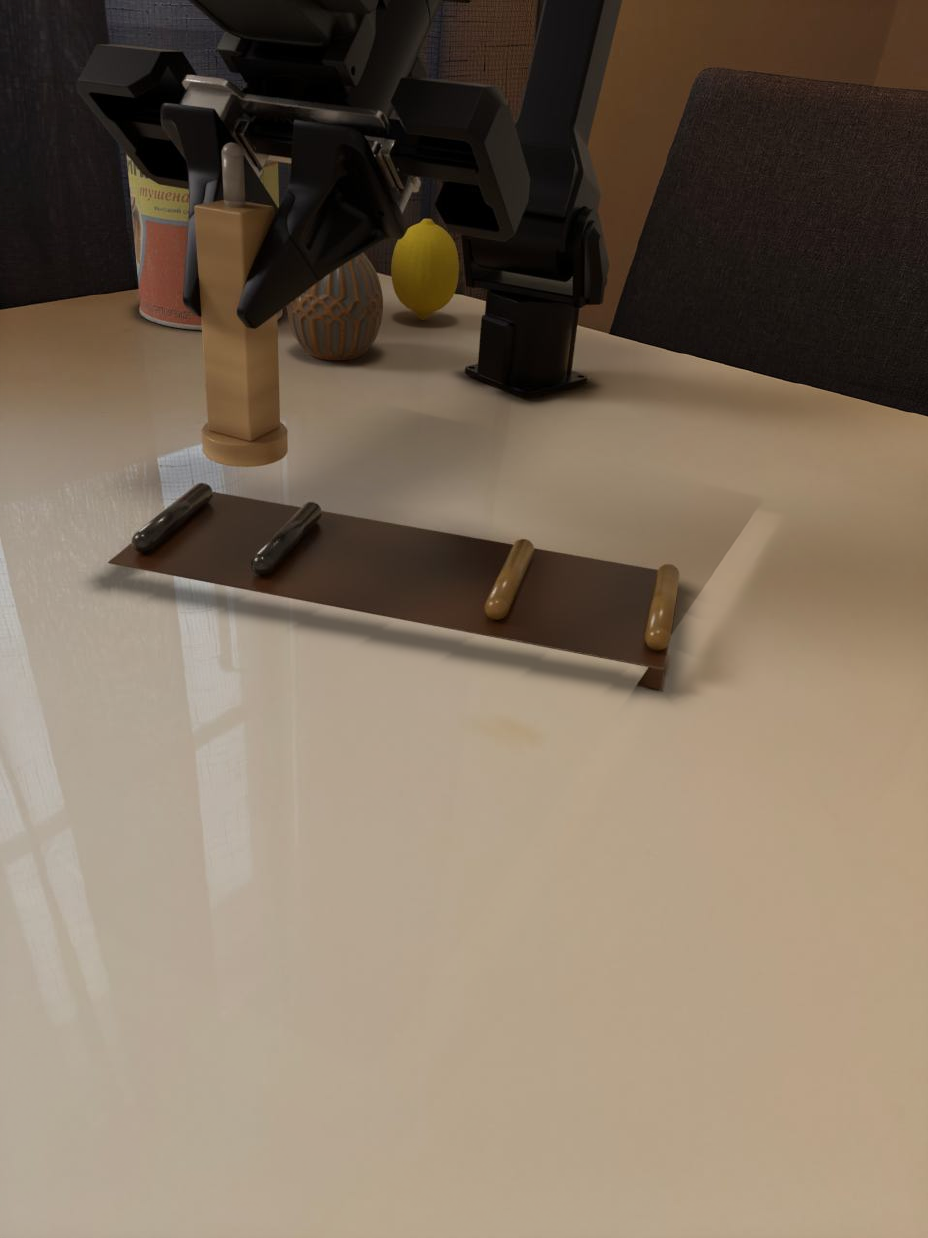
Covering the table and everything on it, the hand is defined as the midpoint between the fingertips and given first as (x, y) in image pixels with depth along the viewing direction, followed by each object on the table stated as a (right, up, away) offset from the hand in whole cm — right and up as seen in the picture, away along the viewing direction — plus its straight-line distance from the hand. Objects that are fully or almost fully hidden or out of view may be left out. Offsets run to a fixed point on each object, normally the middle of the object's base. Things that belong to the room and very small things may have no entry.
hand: (218, 316), depth 40 cm
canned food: (-11, +13, +43) cm, 46 cm away
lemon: (+6, +13, +45) cm, 47 cm away
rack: (+7, -10, +6) cm, 14 cm away
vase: (0, +8, +35) cm, 36 cm away
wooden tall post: (0, -5, +4) cm, 6 cm away
